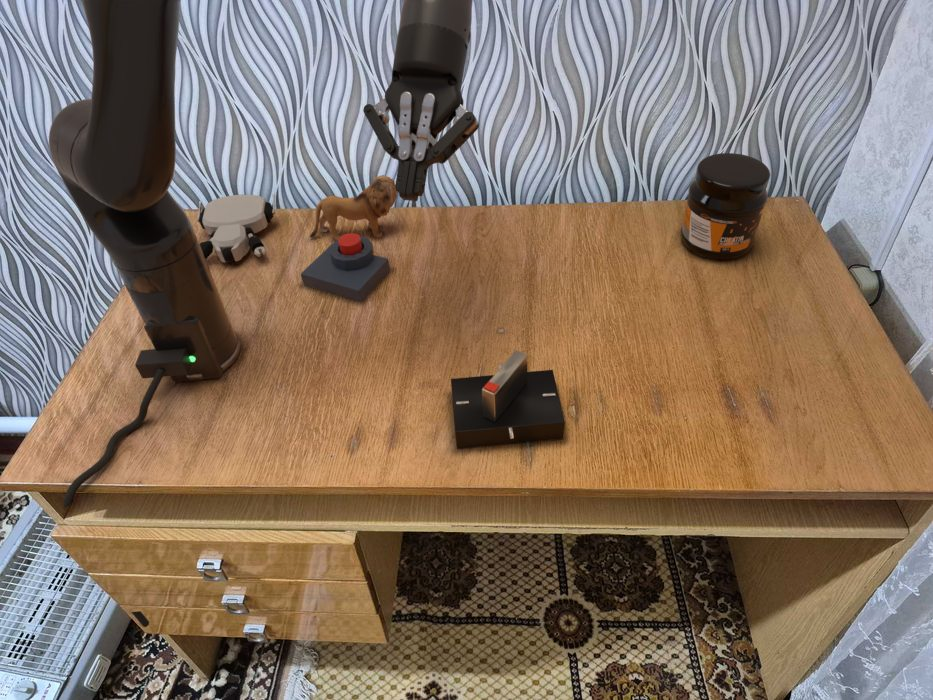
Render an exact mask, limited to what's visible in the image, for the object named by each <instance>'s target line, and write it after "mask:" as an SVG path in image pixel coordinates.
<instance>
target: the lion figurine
mask: <svg viewBox="0 0 933 700" xmlns="http://www.w3.org/2000/svg"><path fill="white" fill-rule="evenodd" d="M395 184H396V181H395V179H394V178H391V177H390V176H387V175H385V174H381V175H378V176H376V177H374V178H373V179H372V183H371V184H370V185H368V186H367V187H366V188H365V189H364V190H363V191H361V192H360V193H359V194H358V195H357V196H354V197H353V196H352V197H341V196H337V195H329V196H326V197H324V198H323V199H321V200H320V201H319V202H318V204H317V206H316V210H315V225H314V229H313V230H312V231H311V233H310V235H309V236H308V237H309V238H315V236H317V233H318V230H320V232H322V233H327V232H329V233H330V234H331V235H332V236H333V238H334V240H335V241H337V240H338V239H339V238H340V237H341V236H343V234H341V235H340V234H338V232H337V226H338V225H337V224H338V217H341V218H344V219H345V220H349V221H361V220H366V221H367V222H368V226H369V229H371V233H372V234H373V236H374V237H375V238H381V237H382V236H383V233H382V231H379V226H380V225H379V219H381V217H386V216H387V215H388V214H389V213H390V210H391V208H392V207H393V205H394V204H395V203H396V200H397V198H398V192H397V191H396V187H395ZM321 212H322V215H321ZM326 223H328V224H329V227H328V226H325V224H326Z"/></svg>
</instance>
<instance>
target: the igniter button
mask: <svg viewBox="0 0 933 700" xmlns="http://www.w3.org/2000/svg"><path fill="white" fill-rule="evenodd" d="M360 236H361V235H359V234H357V233H352V232H351V233H349V232H348V233H345V234H342V236H341V237H340V238H339V240H338V243H339V247H340V252H341V253H342V254H343V255H346V256H348V255H355V254H357V253H360V252H361V251H362V244H361V238H360Z"/></svg>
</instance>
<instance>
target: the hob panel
mask: <svg viewBox="0 0 933 700" xmlns="http://www.w3.org/2000/svg"><path fill="white" fill-rule="evenodd" d="M502 365H503V363H498V368H499V369H500V368H501V367H502ZM499 369H498V370H499ZM494 375H495V374H490V375H477V376H468V377H467V376H465V377H457V378H456V377H455V378H451V379H450V385H451V387H450V388H451V398H452V411H453V412H452V413H453V424H454V435H455V436H454V437H455V446H456V449H457V450H458V449H470V448H480V447H490V446H491V447H493V446H502V445H503V446H504V445H513V444H515V445H516V444H523V443H534V442H544V441H555V440H556V441H557V440H558V441H559V440H564V438H565V427H566V420H565V416H564V412H563V407H562V403H561V400H560V395H559V390H558V386H557V382H556V377H555V374H554V369H545V370H544V369H543V370H534V371H533V370H532V371H528V374H527V383H526V385H525V386H524V387H523V388H522V390H521V391H520V392H519V393H518V395H517V396H516V397H515V398H514V400H513V401H512V402H511V403H510V404H509V406H508V407H507V408H506V409H505V411H504V412H503V413H502V414H501V416H500V417H499V418H498V419H497V421H496V422H494V421H492V420H490V419H487V418H485V417H484V416H483V401H482V389H483V387H484V386H485V385H486V384H487V383H488V382H489V380H490V379H491V378H492V377H493V376H494Z"/></svg>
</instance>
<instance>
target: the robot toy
mask: <svg viewBox="0 0 933 700" xmlns="http://www.w3.org/2000/svg"><path fill="white" fill-rule="evenodd" d="M202 204H203V203H202V201H201V200H199V201H198V215H197V218H196V221H197V223H199V224H200V227H201V229H202V230H205V232H206V233H207V234H208V235H209V236H210V237H209V239H208V240H206V241H205V240H204V241H201V242H199V245H200V247H201V250H202V252H203V255H204V257H205V260H207V259H208V258H209V257H210V256H211V255H212V254H213V252H214V251H215V254H216V256H217V257H218V258H219V260H220V262H221V263H224V264H226V263H231V262H233V261H235V263H236V262H239V261H241V260H242V259H243V257H246V256H247V254H248V253H249V251H250V250H251V251H252V252H253V254H254V255H255V256H256V257H262V255H263V256H265V255H266V254H267V248H266V247H265V245H264V243H263V242H262V240H261V239H260V238H259V236H258V235H257V236H256V235H255V234H257V233H260V232H261V231H263V230H264V229H266V228H268V225H269V224H270V223H271V222H272V220H273V218H274V216H275V215H276V211H277V210H276V194H275V193H274V192H273V194H272V204H271V202H270V201H269V202H268V201H267V199H266V198H265V197H263V196H260V195H256V194H233V195H227V196H223V197H218V198H215V199H213V200H211V201H210V202H208V203H206V204H205V207H204V208H202ZM272 205H273V206H272Z"/></svg>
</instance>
